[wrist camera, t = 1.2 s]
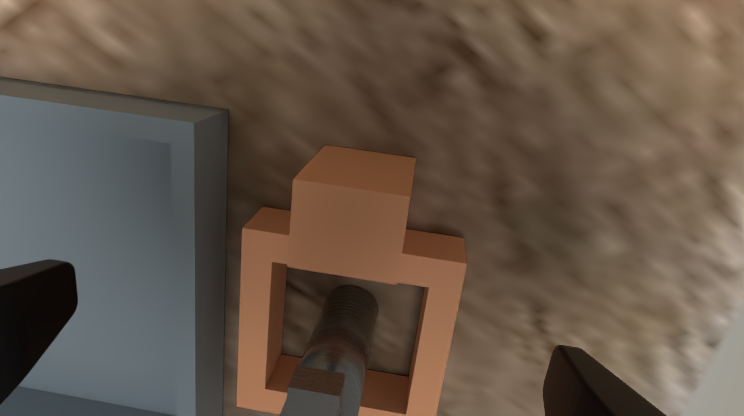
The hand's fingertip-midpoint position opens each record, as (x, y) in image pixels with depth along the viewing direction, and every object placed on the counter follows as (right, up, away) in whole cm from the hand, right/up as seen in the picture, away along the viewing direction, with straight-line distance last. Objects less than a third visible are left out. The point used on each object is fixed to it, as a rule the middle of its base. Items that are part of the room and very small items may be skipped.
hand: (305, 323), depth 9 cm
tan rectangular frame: (+1, -1, +9) cm, 9 cm away
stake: (0, -2, +9) cm, 9 cm away
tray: (-11, 0, +10) cm, 15 cm away
